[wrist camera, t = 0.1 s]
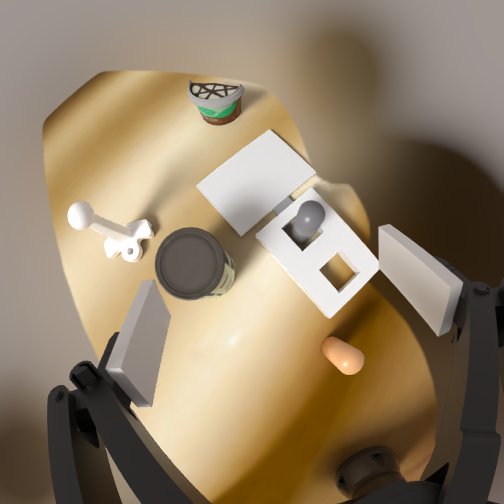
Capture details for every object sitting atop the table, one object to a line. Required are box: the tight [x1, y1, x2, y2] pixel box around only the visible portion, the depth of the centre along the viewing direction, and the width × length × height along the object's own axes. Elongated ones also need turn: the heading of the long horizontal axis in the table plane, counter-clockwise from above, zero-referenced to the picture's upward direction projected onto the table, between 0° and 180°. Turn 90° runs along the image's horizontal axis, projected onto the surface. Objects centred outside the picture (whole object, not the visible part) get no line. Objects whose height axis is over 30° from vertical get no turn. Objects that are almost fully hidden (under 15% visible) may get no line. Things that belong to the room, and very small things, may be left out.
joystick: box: [68, 201, 154, 262], centre depth 43 cm, size 11×8×20 cm
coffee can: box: [155, 227, 236, 300], centre depth 44 cm, size 10×10×14 cm
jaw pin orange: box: [321, 336, 364, 375], centre depth 41 cm, size 4×4×13 cm
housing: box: [255, 187, 379, 318], centre depth 49 cm, size 20×14×3 cm
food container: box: [188, 80, 244, 125], centre depth 52 cm, size 12×6×10 cm, turn 76°
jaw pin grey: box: [291, 200, 325, 244], centre depth 45 cm, size 4×4×13 cm
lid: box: [196, 129, 316, 237], centre depth 53 cm, size 16×20×1 cm
